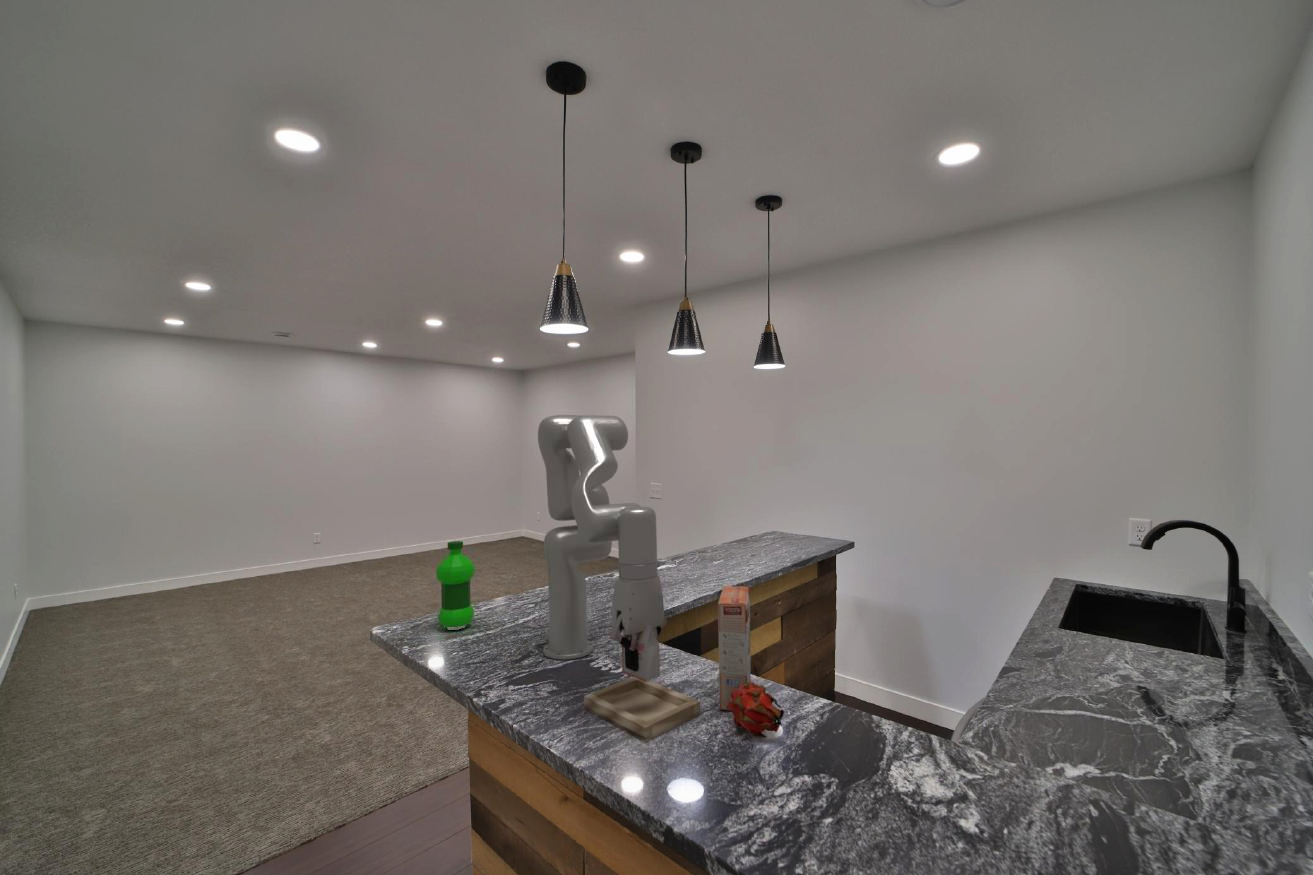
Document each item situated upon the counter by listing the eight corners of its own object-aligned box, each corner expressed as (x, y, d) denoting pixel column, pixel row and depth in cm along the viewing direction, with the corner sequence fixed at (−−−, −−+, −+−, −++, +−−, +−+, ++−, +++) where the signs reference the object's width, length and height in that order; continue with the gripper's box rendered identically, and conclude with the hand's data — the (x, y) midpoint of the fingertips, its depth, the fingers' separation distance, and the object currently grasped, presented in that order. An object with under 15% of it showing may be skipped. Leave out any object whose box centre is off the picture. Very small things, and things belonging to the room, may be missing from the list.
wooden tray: (584, 708, 110) (584, 696, 110) (637, 687, 119) (637, 675, 119) (645, 742, 96) (645, 727, 96) (700, 714, 106) (699, 701, 106)
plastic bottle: (465, 620, 170) (464, 538, 170) (480, 628, 162) (479, 542, 163) (432, 628, 163) (431, 542, 164) (446, 636, 155) (445, 546, 156)
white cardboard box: (636, 667, 112) (635, 616, 112) (659, 676, 107) (658, 623, 107) (622, 672, 109) (621, 620, 109) (645, 682, 104) (644, 628, 104)
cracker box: (750, 713, 106) (747, 603, 107) (718, 711, 107) (715, 602, 108) (752, 683, 120) (750, 585, 120) (724, 681, 121) (722, 584, 122)
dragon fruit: (735, 721, 106) (779, 760, 96) (707, 706, 102) (751, 744, 92) (757, 681, 108) (803, 714, 98) (731, 664, 104) (777, 697, 94)
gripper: (656, 562, 117) (658, 650, 116) (592, 575, 105) (594, 673, 105) (681, 566, 111) (684, 659, 111) (617, 581, 100) (619, 684, 99)
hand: (640, 665), depth 108 cm, fingers closed on white cardboard box, 3 cm apart
